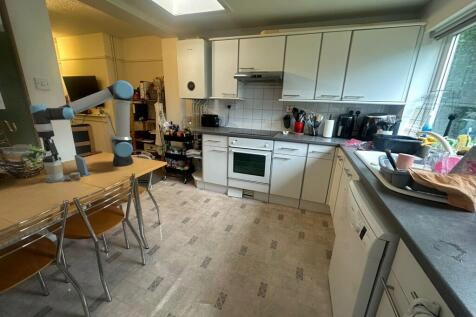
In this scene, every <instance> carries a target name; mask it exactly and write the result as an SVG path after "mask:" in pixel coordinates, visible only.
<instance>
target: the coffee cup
mask: <svg viewBox="0 0 476 317" xmlns="http://www.w3.org/2000/svg"><path fill="white" fill-rule="evenodd" d="M58 157H59V161H60V164H61V165H57V166H55V165H54V161H53V158H52V156H47V155H46V156H45V157H44V158H43V159H42V164H43V165H44V166H43V167H44V168H45V171H46V174H47V175H48V176H47V177H48V178H49V179H50V180H58V179H62V178H63V175H64V169H63V163H62V158H61V157H60V156H58Z"/></svg>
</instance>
